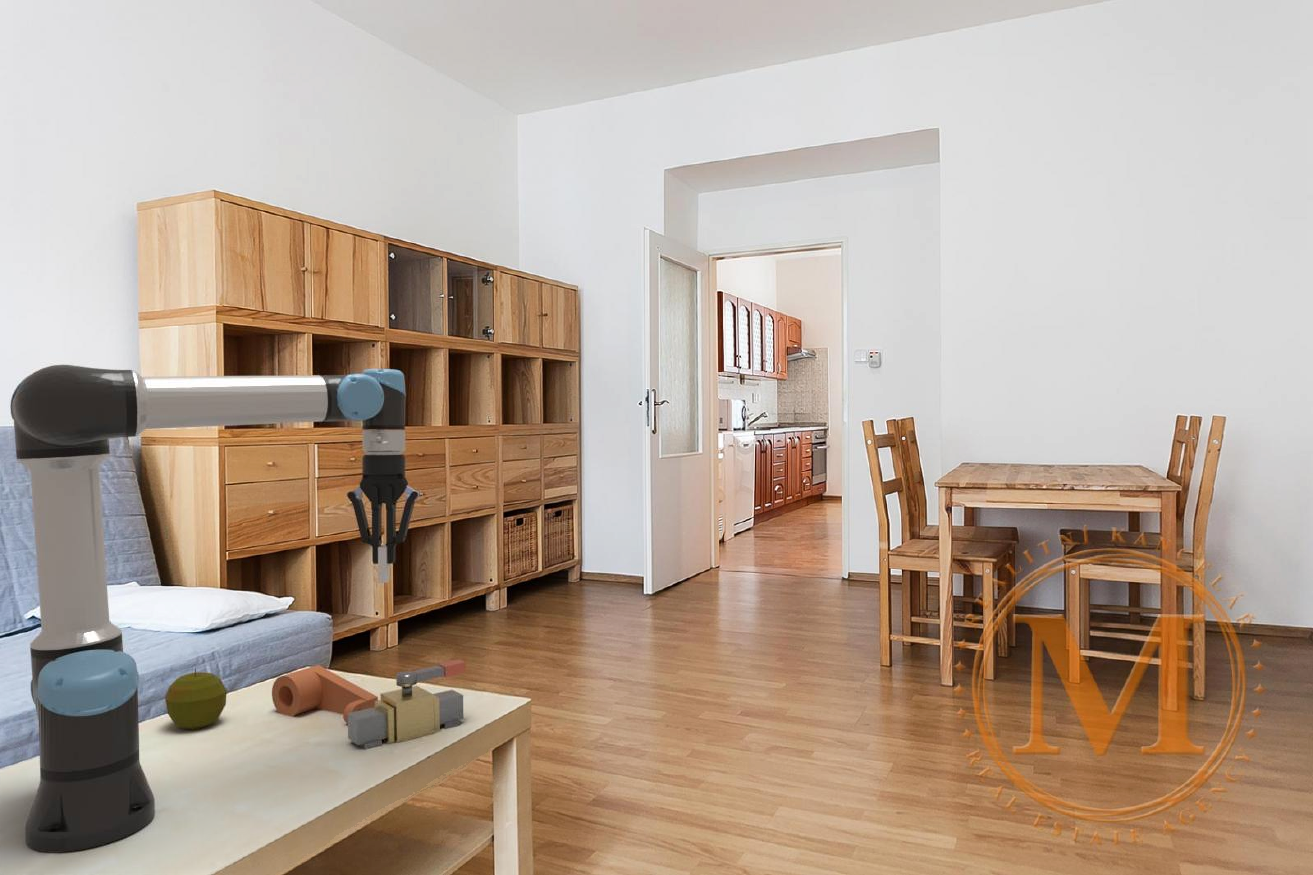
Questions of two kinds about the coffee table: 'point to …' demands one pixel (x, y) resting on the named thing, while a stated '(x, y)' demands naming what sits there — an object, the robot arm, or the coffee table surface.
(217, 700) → the apple
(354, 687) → the orange bent piece
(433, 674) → the lever
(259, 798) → the coffee table surface
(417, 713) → the grey and tan assembly
